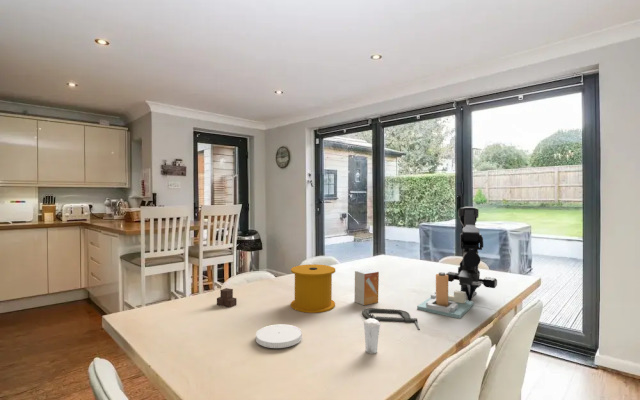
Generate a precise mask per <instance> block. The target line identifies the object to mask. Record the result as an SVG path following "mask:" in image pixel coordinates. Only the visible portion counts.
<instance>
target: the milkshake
mask: <svg viewBox="0 0 640 400" xmlns="http://www.w3.org/2000/svg"><path fill="white" fill-rule="evenodd" d="M361 319H362V321H363V330H364V344H365V353H367V354H371V355H375V354H377V353H378V344H379V335H380V327H381V323H380V322H379V321H380V320H376V319H372V318H369V319H368V318H367V319H365V320H363V318H361Z"/></svg>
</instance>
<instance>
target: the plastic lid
mask: <svg viewBox="0 0 640 400" xmlns="http://www.w3.org/2000/svg"><path fill="white" fill-rule="evenodd" d="M302 336H303V332H302V329H301V328H300V327H297V326H295V325H291V324H284V323H279V324H271V325H267V326H263V327H261V328H259V329H257V331H256V332H255V341H256V342H255V343H257V344H258V345H260V346H262V347H265V348H270V349H283V348H288V347H289V348H290V347H292V346H295V345H297V344H298V343H300V342H301V340H302V339H303V338H302Z"/></svg>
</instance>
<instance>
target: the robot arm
mask: <svg viewBox="0 0 640 400" xmlns="http://www.w3.org/2000/svg"><path fill="white" fill-rule="evenodd" d="M457 215H458V218H459V223H461V225H462V227H463V228H462V229H461V230H462V231H461V233H460V234H459V236H460V237H459V238H460V239H459V241H460V242H459V243H460V249H461V250H462V259H461V260H460V262H459V266H458V267H457V272H454V271H453V272H452V271H447V272H446V273H445V274H446V275H448V282H453V281H455V280H456V281H458V282H459V283H458V284H459V285H460V291H462V292H466V299H467V301H472V299H473V297H474V296H475V295H476V294H477V291H476V290H477V289H478V288H480V287H481V286H482V284H483V286H484V287H485V288H490V289H496V287H497V286H498V280H497V278H495V277H489V276H485V277H484V278H480V275H481V271H480V270H479V265H480V263H481V257H480V255H479V251H482V250H483V248H484V237H483V236H482V234H481V233H480V229H479V228H478V227H476V223H477V219H479V209H478V208H476V207H474V206H464V207H460V208H458V214H457Z"/></svg>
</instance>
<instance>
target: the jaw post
mask: <svg viewBox="0 0 640 400" xmlns="http://www.w3.org/2000/svg"><path fill="white" fill-rule="evenodd" d="M446 274H447V273H445V272H440V271H439V272H438V273H437V274H435V292H436V305H440V306H445V307H448V295H449V281H448V275H446Z"/></svg>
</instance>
